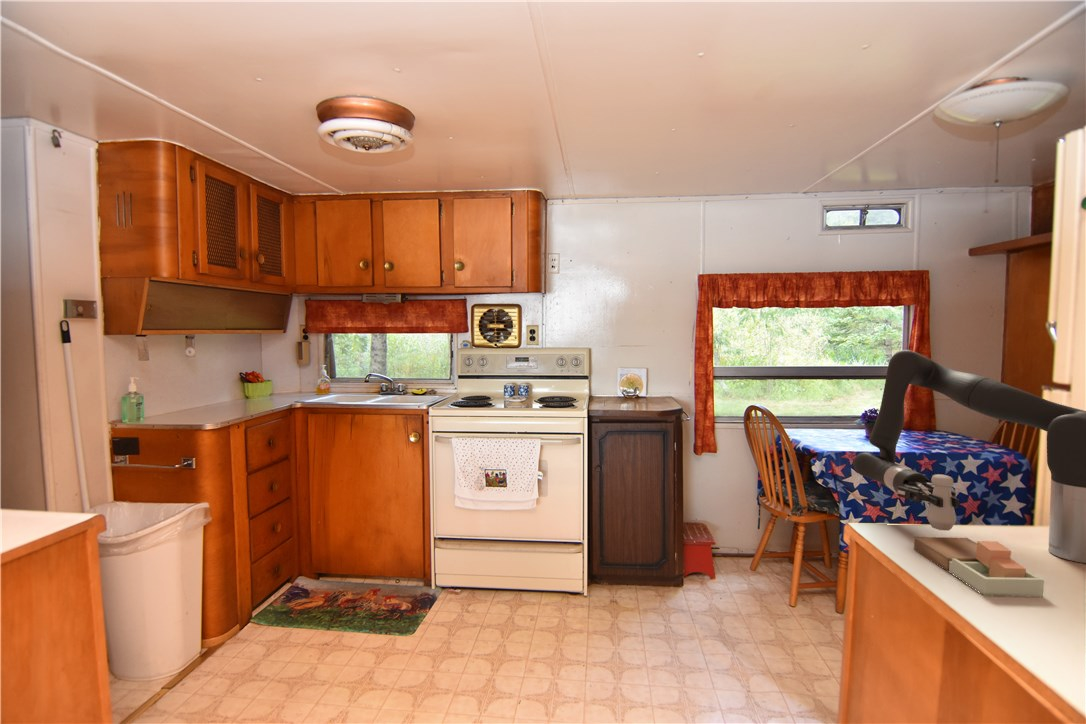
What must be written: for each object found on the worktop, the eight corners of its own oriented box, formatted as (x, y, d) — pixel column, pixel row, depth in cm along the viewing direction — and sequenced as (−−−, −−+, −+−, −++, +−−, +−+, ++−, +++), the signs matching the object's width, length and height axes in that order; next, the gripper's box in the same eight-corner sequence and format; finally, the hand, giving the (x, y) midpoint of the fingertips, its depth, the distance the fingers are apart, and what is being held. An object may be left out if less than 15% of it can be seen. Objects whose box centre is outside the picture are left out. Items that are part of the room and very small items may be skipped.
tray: (1002, 573, 118) (1002, 557, 118) (1043, 597, 107) (1043, 579, 107) (949, 572, 119) (949, 556, 118) (984, 596, 108) (985, 579, 108)
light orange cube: (995, 558, 118) (997, 541, 117) (1009, 568, 114) (1011, 550, 114) (975, 558, 118) (977, 541, 118) (988, 568, 115) (990, 550, 114)
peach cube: (1011, 558, 114) (1026, 568, 110) (1009, 576, 114) (1023, 586, 110) (990, 558, 114) (1004, 568, 110) (988, 575, 115) (1002, 586, 111)
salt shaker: (945, 523, 136) (947, 472, 135) (961, 532, 130) (963, 479, 129) (921, 523, 136) (922, 472, 135) (935, 531, 131) (937, 479, 130)
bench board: (966, 549, 130) (966, 537, 130) (1005, 572, 118) (1005, 558, 118) (914, 549, 131) (914, 537, 131) (947, 571, 119) (947, 558, 119)
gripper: (879, 468, 147) (919, 488, 130) (933, 468, 146) (981, 488, 129) (879, 496, 148) (918, 518, 131) (932, 496, 147) (979, 518, 130)
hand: (949, 503), depth 130 cm, fingers closed on salt shaker, 3 cm apart
